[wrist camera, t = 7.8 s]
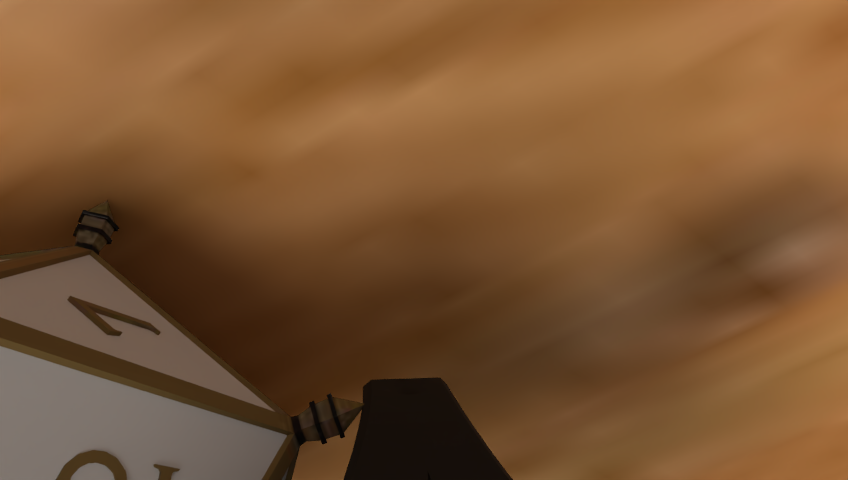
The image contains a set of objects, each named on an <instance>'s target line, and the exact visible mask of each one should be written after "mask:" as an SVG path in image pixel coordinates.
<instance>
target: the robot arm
mask: <svg viewBox="0 0 848 480" xmlns="http://www.w3.org/2000/svg"><path fill="white" fill-rule="evenodd" d="M363 403H364V405H363V406H362V413H361V419H360V424H359V428H358V432H357V436H356V440H355V444H354V448H353V452H352V455H351V458H350V461H349V464H348V467H347V471H346V474H345V477H344V480H512V478H511V477H510V476H509V474H508V473H507V472H506V470H505V469H504V468H503V467H502V465H501V464H500V463H499V461H498V460H497V459H496V457H495V456H494V455H493V453H492V452H491V450H490V449H489V448H488V446H487V445H486V443H485V442H484V441H483V439H482V438H481V436H480V435H479V433H478V432H477V431H476V429H475V428H474V426H473V425H472V423H471V422H470V420H469V419H468V417H467V416H466V414H465V413H464V411H463V410H462V408H461V407H460V405H459V404H458V402H457V400H456V399H455V397H454V396H453V394H452V392H451V391H450V389H449V387H448V386H447V384H446V383H445V382H444V381H443V380H442V379H441V378H413V379H381V380H370V381H369V382H368V383H367V384H366V385H364V386H363Z"/></svg>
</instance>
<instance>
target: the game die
mask: <svg viewBox="0 0 848 480" xmlns="http://www.w3.org/2000/svg"><path fill="white" fill-rule="evenodd" d="M78 222H79V223H81V224H78V225H77V227H76V229H75V231H74V234H73V236H76V244H75V246H69V247H61V248H53V249H46V250H38V251H30V252H23V253H15V254H7V255H0V480H291V479H292V475H293V471H294V467H295V463H296V459H297V455H298V451H299V448H300V446H301V445H302V444H303V443H305V442H306V441H320V440H321V442H322V444H325V443H327V441H326V439H327V438H330V437H333V436H336V435H340V438H344V437H345V435H344V432H345V430H346V429H347V428H348V426H349V425H350V424H351V423H352V421H353V420H354V419H355V417H356V416H357V415H358V413H359V412H360V411H361V410H362V406H363V405H364V403H359V402H354V401H349V400H344V399H339V398H334V397H332V395H331V393H330V394H328V395H327V397H328V399H326V400H324V401H321V402H319V403H317V404H315V403H314V401H312V402H310V403H309V404H310V407H309V408H308V409H306V410H305V411H304V412H302V413H301V414H300V415H298V416H294V417H290V416H289V415H288V414H286V413H285V412H284V411H283V410H282V409H280V408H279V407H278V406H277V405H276V404H274V403H273V402H272V401H271V400H270V399H269V398H267V397H266V396H265V395H264V394H263V393H261V392H260V391H259V390H258V389H257V388H255V387H254V386H253V385H252V384H251V383H250V382H248V381H247V380H246V379H245V378H244V377H242V376H241V375H240V374H239V373H238V372H236V371H235V370H234V369H233V368H232V367H231V366H229V365H228V364H227V363H226V362H225V361H223V360H222V359H221V358H220V357H219V356H217V355H216V354H215V353H214V352H213V351H211V350H210V349H209V348H208V347H207V346H206V345H204V344H203V343H202V342H201V341H200V340H198V339H197V338H196V337H195V336H194V335H192V334H191V333H190V332H189V331H188V330H187V329H185V328H184V327H183V326H182V325H181V324H179V323H178V322H177V321H176V320H175V319H173V318H172V317H171V316H170V315H169V314H168V313H166V312H165V311H164V310H163V309H162V308H160V307H159V306H158V305H157V304H156V303H154V302H153V301H152V300H151V299H150V298H149V297H147V296H146V295H145V294H144V293H143V292H141V291H140V290H139V289H138V288H137V287H135V286H134V285H133V284H132V283H131V282H129V281H128V280H127V279H126V278H125V277H124V276H122V275H121V274H120V273H119V272H118V271H116V270H115V269H114V268H113V267H112V266H110V265H109V264H108V263H107V262H106V261H105V260H103V259H102V258H101V257H100V256H99V251H100V250H101V249H102V248H103V247H104V246H105V245H106V244H111V243H112V241H113V240H112V239H111V238H110V237H111V235H112V233H113V231H118V229H119V227H118V226H117V225H116V224H115V223H114V221H113V217H112V214H111V210H110V207H109V204H108V200H107V201H105V202H103V203H102V204H100V205H98V206H96V207H94V208H92V209H91V210H89V211H86V210H83V212H82V214H81V216H80V218H79V221H78Z"/></svg>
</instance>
